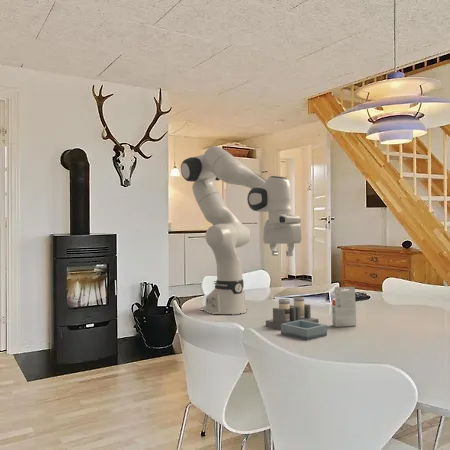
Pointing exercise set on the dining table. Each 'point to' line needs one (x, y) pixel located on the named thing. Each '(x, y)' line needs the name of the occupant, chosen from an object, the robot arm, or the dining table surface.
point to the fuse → (300, 303)
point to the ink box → (344, 307)
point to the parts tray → (304, 329)
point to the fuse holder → (294, 316)
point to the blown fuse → (285, 308)
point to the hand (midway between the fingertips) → (282, 255)
